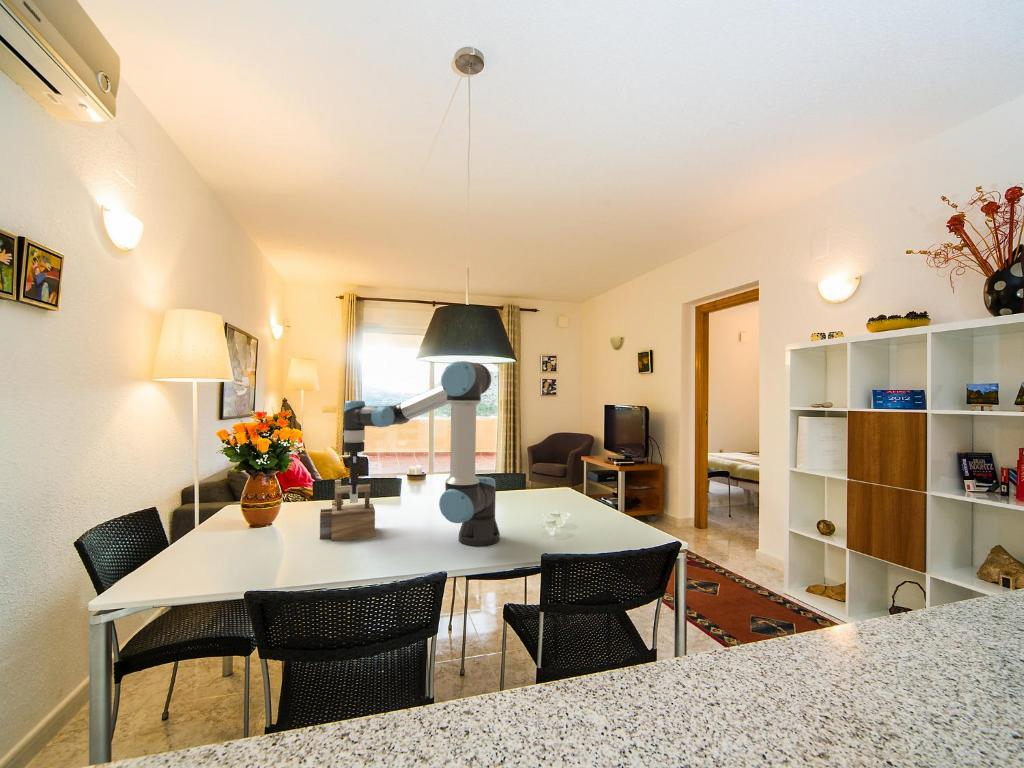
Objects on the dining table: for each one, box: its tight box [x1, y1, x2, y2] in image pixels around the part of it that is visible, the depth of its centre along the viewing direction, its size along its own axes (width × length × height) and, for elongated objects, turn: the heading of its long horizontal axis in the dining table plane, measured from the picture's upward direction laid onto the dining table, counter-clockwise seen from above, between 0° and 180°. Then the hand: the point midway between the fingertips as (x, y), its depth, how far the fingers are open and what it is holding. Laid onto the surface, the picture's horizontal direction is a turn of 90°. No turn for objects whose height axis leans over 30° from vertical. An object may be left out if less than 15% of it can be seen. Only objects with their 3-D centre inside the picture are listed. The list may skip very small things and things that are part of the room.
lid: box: [319, 483, 376, 519], centre depth 176 cm, size 12×19×10 cm, turn 110°
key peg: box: [331, 479, 344, 507], centre depth 196 cm, size 4×4×16 cm
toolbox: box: [319, 514, 376, 542], centre depth 176 cm, size 12×19×8 cm, turn 110°
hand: (353, 499), depth 177 cm, fingers open, 11 cm apart
